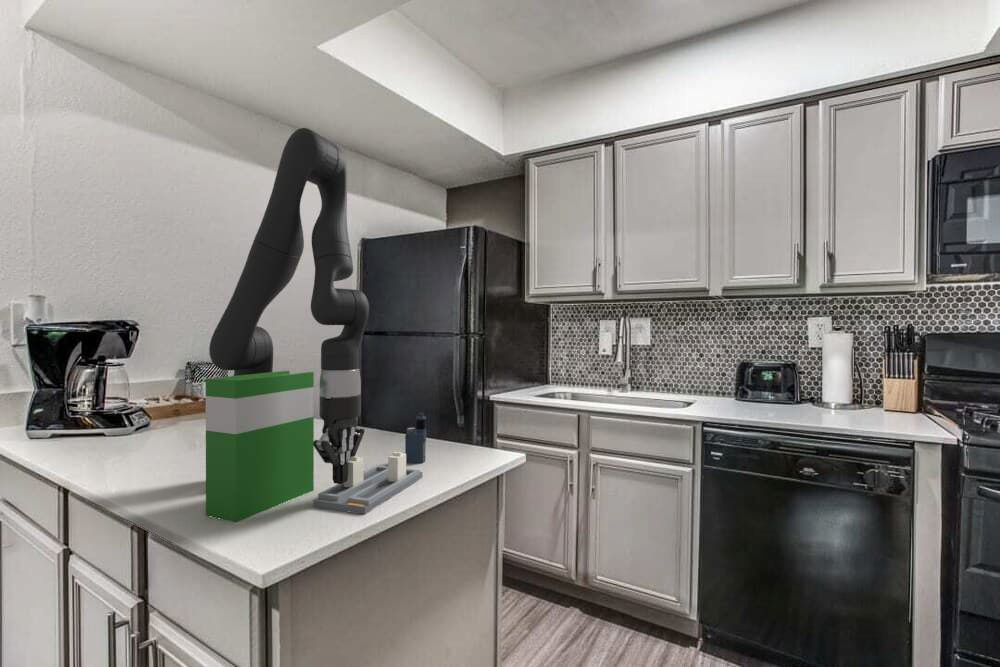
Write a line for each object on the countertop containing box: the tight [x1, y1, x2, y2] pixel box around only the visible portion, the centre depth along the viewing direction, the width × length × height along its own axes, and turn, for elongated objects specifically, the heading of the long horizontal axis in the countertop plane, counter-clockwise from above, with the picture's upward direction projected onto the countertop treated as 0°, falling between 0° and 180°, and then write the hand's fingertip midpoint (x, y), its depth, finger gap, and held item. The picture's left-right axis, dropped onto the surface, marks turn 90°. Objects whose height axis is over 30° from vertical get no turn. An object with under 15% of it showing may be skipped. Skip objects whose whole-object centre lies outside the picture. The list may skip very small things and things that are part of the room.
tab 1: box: [344, 455, 365, 488], centre depth 97 cm, size 2×4×6 cm, turn 162°
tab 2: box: [387, 451, 407, 482], centre depth 101 cm, size 2×4×6 cm, turn 162°
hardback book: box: [205, 370, 315, 523], centre depth 91 cm, size 18×7×24 cm, turn 157°
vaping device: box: [404, 412, 427, 464], centre depth 119 cm, size 3×5×12 cm, turn 79°
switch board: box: [313, 465, 424, 515], centre depth 98 cm, size 11×22×2 cm, turn 162°
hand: (340, 482), depth 93 cm, fingers closed
